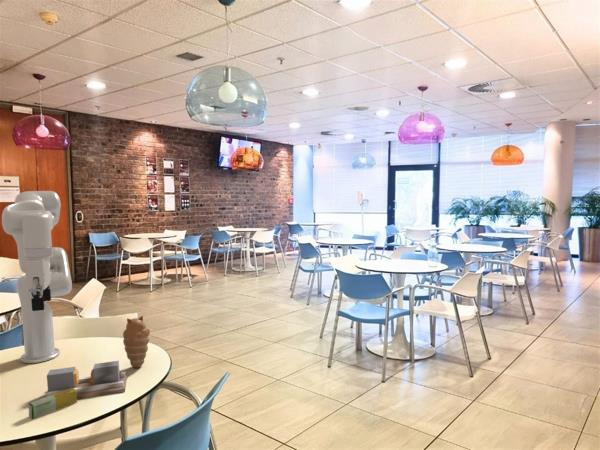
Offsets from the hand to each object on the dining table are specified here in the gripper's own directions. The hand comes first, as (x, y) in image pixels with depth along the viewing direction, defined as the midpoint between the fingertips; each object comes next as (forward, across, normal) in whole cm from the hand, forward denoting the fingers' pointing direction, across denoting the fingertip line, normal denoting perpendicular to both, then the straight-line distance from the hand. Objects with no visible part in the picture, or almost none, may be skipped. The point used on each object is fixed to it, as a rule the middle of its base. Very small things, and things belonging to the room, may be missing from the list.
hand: (42, 305), depth 136 cm
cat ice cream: (+25, -1, +28) cm, 38 cm away
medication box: (+25, +21, +6) cm, 33 cm away
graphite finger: (+24, +11, +6) cm, 27 cm away
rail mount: (+25, +11, +13) cm, 30 cm away
